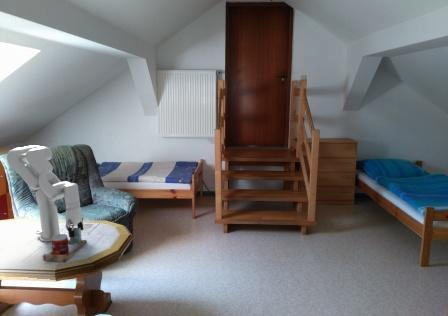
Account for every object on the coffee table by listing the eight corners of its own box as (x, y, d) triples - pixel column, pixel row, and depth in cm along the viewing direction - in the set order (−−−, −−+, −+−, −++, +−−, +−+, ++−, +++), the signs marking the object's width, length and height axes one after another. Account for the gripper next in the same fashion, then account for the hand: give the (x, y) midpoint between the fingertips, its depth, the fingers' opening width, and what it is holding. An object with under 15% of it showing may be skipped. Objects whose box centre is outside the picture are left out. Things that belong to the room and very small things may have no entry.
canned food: (56, 252, 193) (54, 234, 190) (71, 252, 193) (69, 233, 191) (50, 259, 185) (48, 240, 183) (66, 259, 186) (64, 239, 183)
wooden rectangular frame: (43, 260, 184) (41, 244, 182) (67, 241, 206) (65, 227, 204) (65, 261, 182) (63, 245, 180) (86, 242, 204) (85, 228, 203)
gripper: (74, 200, 208) (78, 227, 211) (57, 210, 191) (61, 239, 195) (86, 200, 207) (89, 227, 211) (71, 210, 190) (74, 239, 194)
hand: (76, 233), depth 203 cm, fingers open, 9 cm apart
